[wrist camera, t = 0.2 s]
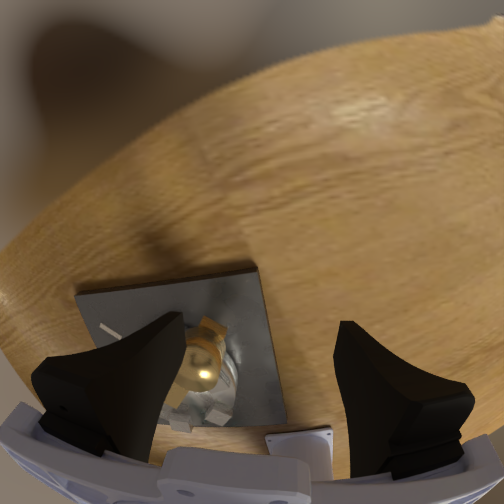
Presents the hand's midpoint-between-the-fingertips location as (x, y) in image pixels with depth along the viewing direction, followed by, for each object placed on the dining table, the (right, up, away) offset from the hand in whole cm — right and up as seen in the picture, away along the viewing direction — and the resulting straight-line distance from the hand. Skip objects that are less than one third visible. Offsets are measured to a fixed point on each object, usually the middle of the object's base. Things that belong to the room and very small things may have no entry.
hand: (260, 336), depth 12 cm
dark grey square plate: (-7, -7, +13) cm, 17 cm away
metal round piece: (-6, -6, +12) cm, 14 cm away
